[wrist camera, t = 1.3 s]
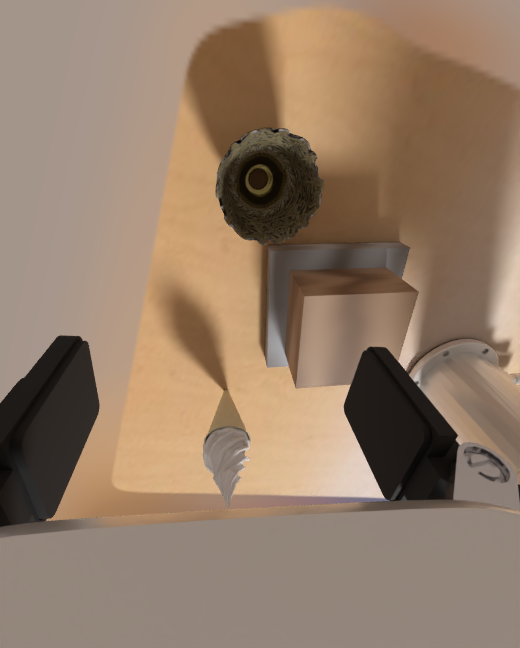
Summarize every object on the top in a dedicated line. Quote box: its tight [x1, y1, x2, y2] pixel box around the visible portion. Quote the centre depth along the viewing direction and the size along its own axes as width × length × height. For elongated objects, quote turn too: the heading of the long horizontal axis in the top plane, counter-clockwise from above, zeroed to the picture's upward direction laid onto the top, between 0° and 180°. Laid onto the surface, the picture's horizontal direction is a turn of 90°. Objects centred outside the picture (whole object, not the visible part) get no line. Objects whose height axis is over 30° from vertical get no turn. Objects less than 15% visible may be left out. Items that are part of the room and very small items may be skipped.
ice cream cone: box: [203, 389, 251, 508], centre depth 34 cm, size 5×5×15 cm
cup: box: [216, 128, 324, 245], centre depth 25 cm, size 8×7×8 cm
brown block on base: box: [265, 242, 418, 388], centre depth 32 cm, size 14×14×8 cm
